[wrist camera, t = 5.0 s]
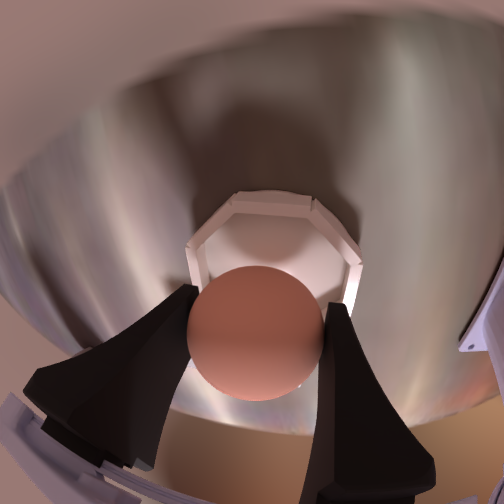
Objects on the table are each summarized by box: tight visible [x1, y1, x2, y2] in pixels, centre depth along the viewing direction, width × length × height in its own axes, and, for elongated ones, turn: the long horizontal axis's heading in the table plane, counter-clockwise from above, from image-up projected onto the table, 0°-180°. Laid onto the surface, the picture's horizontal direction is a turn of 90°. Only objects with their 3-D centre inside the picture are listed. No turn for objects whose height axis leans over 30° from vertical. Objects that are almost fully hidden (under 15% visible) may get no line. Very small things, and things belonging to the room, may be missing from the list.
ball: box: [187, 265, 325, 401], centre depth 10 cm, size 5×5×5 cm
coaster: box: [185, 190, 363, 322], centre depth 13 cm, size 8×8×1 cm
